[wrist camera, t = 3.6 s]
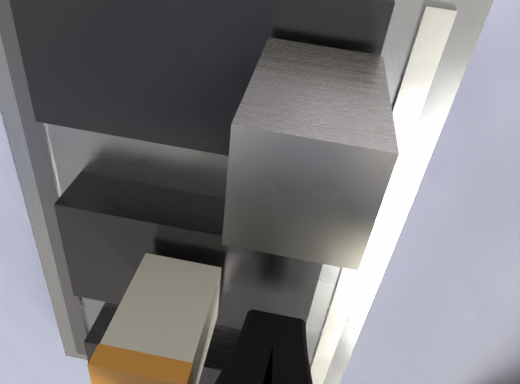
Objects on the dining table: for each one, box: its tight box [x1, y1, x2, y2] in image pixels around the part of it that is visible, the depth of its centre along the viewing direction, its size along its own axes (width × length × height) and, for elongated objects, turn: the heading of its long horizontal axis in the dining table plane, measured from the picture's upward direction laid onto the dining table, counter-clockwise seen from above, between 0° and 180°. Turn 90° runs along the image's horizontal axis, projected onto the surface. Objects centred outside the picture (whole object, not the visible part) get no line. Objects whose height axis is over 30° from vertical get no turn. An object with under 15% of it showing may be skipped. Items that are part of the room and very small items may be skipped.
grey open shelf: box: [0, 0, 493, 384], centre depth 12 cm, size 11×16×6 cm
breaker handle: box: [88, 253, 221, 384], centre depth 11 cm, size 2×2×3 cm
